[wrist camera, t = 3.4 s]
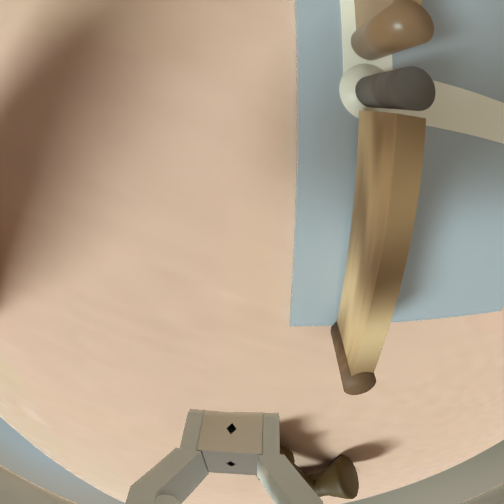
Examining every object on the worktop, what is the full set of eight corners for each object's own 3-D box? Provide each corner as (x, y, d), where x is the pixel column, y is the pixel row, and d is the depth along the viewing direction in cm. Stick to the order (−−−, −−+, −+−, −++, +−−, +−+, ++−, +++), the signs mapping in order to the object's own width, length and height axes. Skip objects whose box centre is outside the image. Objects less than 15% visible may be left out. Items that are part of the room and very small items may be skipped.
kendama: (291, 409, 25) (367, 467, 31) (212, 433, 28) (305, 485, 34) (291, 465, 20) (371, 504, 26) (203, 480, 23) (305, 519, 29)
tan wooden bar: (353, 74, 12) (392, 61, 8) (387, 79, 12) (437, 72, 8) (328, 339, 19) (341, 398, 15) (354, 338, 19) (372, 396, 15)
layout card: (287, -100, 7) (293, -153, 2) (527, -18, 7) (573, -26, 2) (289, 322, 20) (294, 389, 15) (499, 307, 19) (532, 351, 14)
